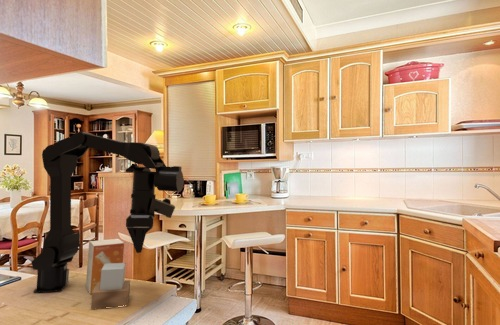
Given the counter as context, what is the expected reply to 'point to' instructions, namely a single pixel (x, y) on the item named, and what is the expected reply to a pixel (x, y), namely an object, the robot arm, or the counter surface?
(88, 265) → the small box
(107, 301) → the base block
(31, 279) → the counter surface
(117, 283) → the cube
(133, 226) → the robot arm
